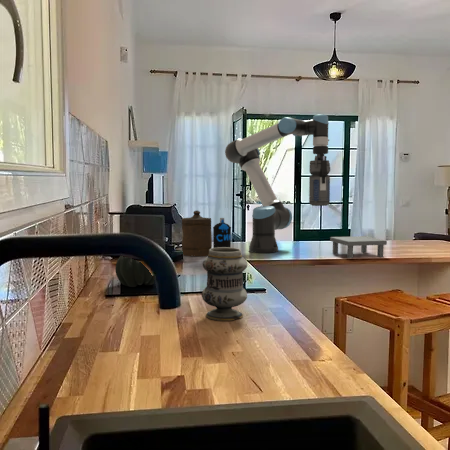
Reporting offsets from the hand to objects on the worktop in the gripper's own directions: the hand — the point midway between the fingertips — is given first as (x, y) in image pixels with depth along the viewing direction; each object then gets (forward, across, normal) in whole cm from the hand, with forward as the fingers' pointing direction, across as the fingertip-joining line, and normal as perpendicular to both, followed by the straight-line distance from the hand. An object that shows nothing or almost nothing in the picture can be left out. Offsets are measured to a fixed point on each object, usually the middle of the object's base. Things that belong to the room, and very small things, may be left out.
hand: (320, 190), depth 244 cm
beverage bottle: (+8, +1, 0) cm, 8 cm away
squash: (+32, -75, +83) cm, 116 cm away
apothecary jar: (+33, -116, +54) cm, 132 cm away
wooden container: (+32, -3, +63) cm, 70 cm away
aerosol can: (+32, -28, +51) cm, 67 cm away
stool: (+32, -7, -17) cm, 37 cm away
